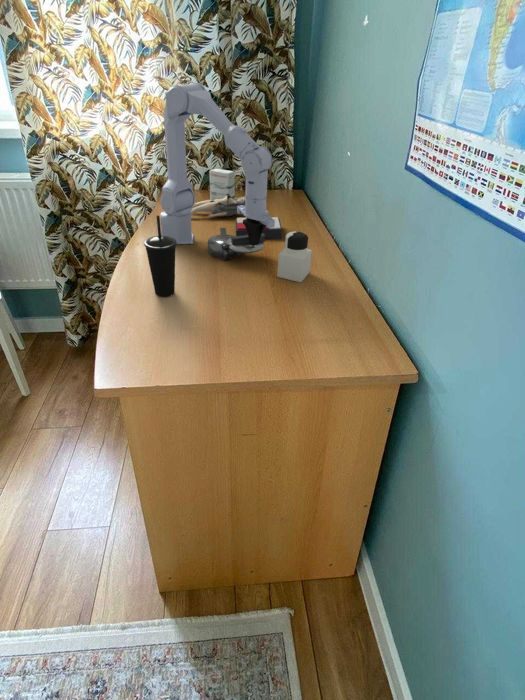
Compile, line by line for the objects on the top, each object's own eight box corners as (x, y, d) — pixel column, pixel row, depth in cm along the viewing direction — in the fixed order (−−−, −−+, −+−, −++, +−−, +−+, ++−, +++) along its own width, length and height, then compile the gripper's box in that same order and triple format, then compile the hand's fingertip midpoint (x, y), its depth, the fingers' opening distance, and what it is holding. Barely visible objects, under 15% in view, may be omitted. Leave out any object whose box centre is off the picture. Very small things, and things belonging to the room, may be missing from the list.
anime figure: (166, 199, 163) (248, 187, 166) (170, 219, 168) (250, 207, 170) (166, 208, 156) (252, 195, 158) (170, 228, 160) (254, 216, 162)
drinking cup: (154, 302, 112) (146, 223, 100) (146, 288, 117) (136, 212, 106) (184, 296, 115) (179, 219, 103) (174, 283, 120) (168, 208, 109)
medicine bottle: (309, 273, 129) (314, 232, 122) (300, 283, 124) (305, 241, 117) (286, 267, 132) (289, 227, 125) (276, 277, 126) (279, 235, 119)
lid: (227, 255, 127) (227, 246, 126) (216, 241, 135) (215, 232, 134) (271, 250, 132) (271, 241, 130) (257, 236, 140) (257, 227, 138)
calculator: (235, 216, 155) (279, 215, 156) (235, 228, 158) (279, 227, 158) (235, 228, 146) (282, 226, 147) (236, 241, 149) (282, 239, 149)
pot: (208, 261, 133) (208, 249, 131) (207, 237, 147) (207, 227, 145) (242, 260, 134) (242, 249, 132) (238, 237, 148) (238, 227, 146)
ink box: (235, 202, 178) (235, 170, 171) (229, 205, 174) (229, 173, 167) (215, 198, 180) (215, 167, 174) (209, 202, 177) (208, 170, 170)
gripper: (284, 201, 120) (281, 249, 128) (251, 187, 129) (250, 233, 137) (264, 206, 117) (261, 255, 125) (231, 191, 126) (230, 238, 133)
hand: (254, 244), depth 131 cm, fingers closed
